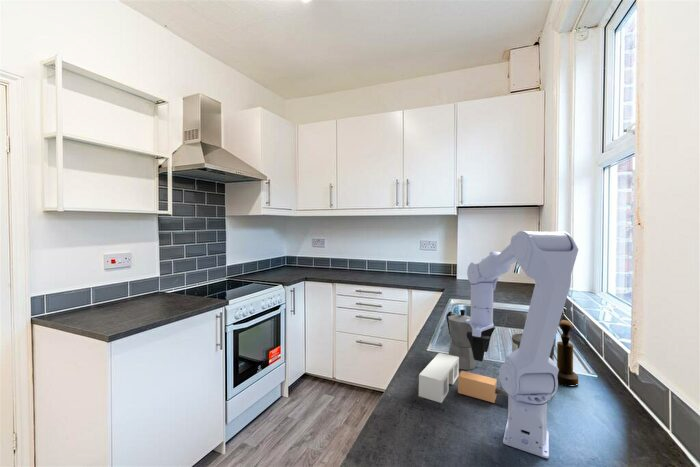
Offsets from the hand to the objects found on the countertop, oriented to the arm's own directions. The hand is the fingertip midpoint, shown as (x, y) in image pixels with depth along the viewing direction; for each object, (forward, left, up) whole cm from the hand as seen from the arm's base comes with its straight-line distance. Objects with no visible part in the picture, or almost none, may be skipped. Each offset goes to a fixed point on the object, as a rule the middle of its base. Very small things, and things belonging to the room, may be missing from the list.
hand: (480, 355), depth 87 cm
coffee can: (+8, -12, -10) cm, 17 cm away
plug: (-4, -2, -9) cm, 10 cm away
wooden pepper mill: (+19, -20, -10) cm, 29 cm away
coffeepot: (+15, +9, -10) cm, 20 cm away
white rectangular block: (-4, +10, -9) cm, 14 cm away
